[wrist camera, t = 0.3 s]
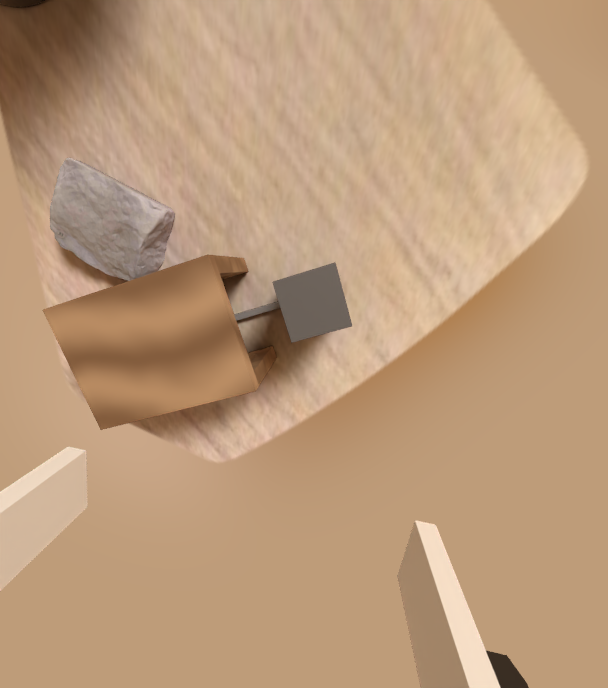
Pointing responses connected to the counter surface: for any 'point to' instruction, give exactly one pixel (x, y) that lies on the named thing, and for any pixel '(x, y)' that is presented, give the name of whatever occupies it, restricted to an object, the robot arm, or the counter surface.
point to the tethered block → (309, 303)
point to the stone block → (108, 222)
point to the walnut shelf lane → (159, 342)
